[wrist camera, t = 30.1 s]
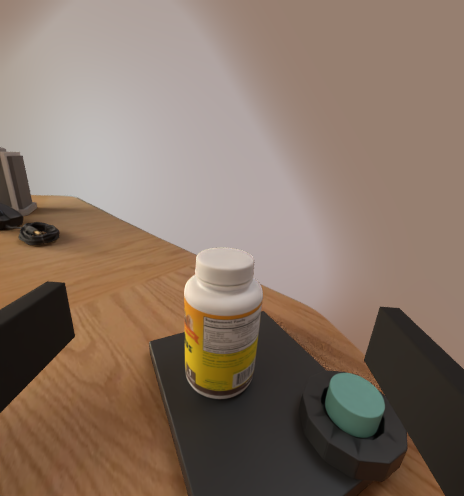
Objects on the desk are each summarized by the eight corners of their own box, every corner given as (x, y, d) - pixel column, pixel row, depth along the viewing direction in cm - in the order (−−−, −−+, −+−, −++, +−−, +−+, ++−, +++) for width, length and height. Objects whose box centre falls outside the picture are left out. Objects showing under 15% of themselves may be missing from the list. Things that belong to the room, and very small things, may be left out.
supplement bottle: (192, 345, 23) (193, 241, 19) (252, 350, 23) (263, 245, 19) (176, 400, 18) (174, 270, 14) (254, 407, 17) (270, 277, 14)
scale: (413, 463, 16) (428, 431, 15) (225, 634, 10) (229, 599, 9) (266, 319, 30) (269, 298, 29) (149, 353, 23) (148, 327, 22)
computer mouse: (-2, 217, 65) (-8, 196, 64) (78, 238, 53) (74, 213, 51) (-53, 224, 57) (-61, 200, 55) (29, 251, 45) (22, 222, 43)
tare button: (388, 424, 16) (396, 404, 15) (355, 448, 14) (362, 426, 14) (346, 384, 18) (351, 366, 18) (314, 401, 17) (319, 382, 16)
